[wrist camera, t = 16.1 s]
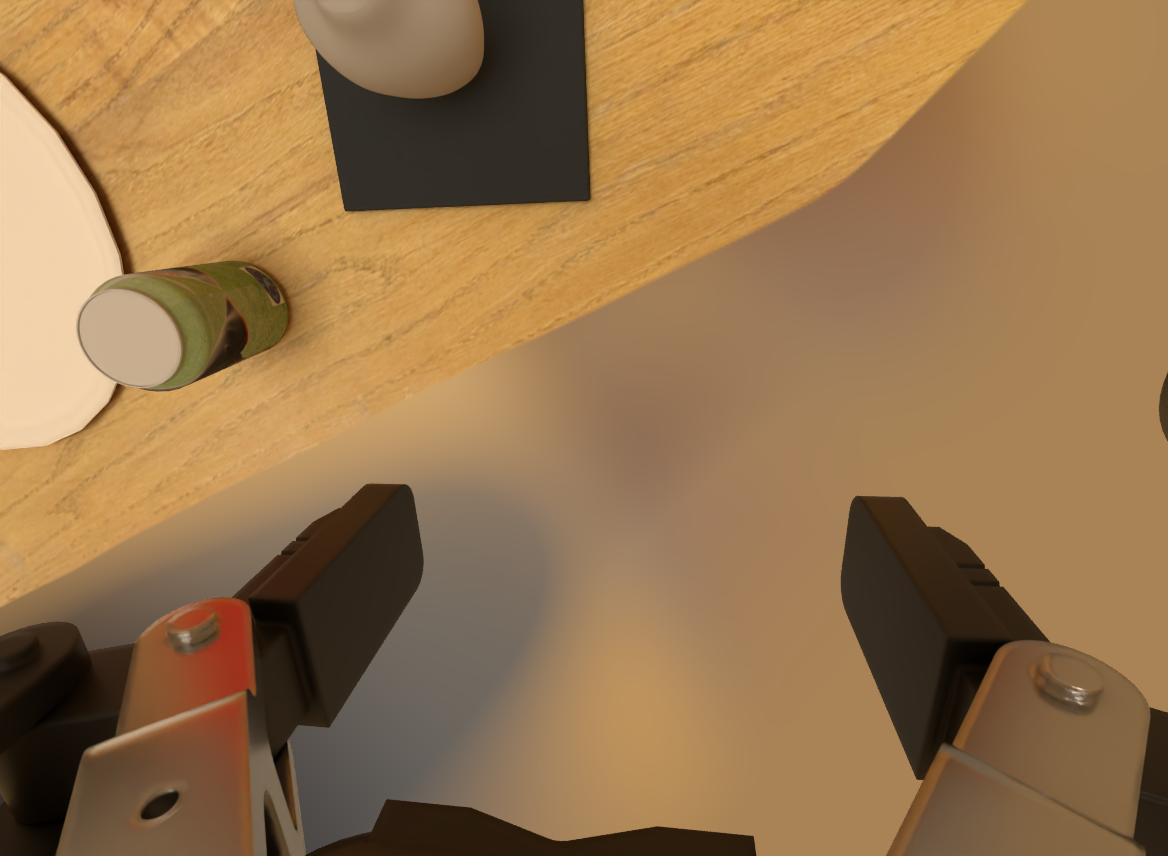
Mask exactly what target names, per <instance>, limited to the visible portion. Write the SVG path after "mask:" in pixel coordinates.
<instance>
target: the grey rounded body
mask: <svg viewBox="0 0 1168 856" xmlns="http://www.w3.org/2000/svg"><path fill="white" fill-rule="evenodd" d="M294 6H295V11H296V15H297V17H298V20H299V22H300V25H301V27H302V29H303V30H304V32H305V34H306V36H307V37H308V39H309V40H310V42H311V43H312V45H313V46H314V47H315V48H316V50H317V51H318V52H319V53H320V55H321V56H322V57H323V58H324V59H325V60H326V61H327V62H328V63H329V64H330V65H331V66H332V67H333V68H334V69H336V70H337V71H338V72H339V73H341V74H342V75H343V76H345V77H346V78H347V79H349V80H350V81H352V82H354V83H355V84H357V85H359V86H361V87H363V88H365V89H368V90H370V91H373V92H377V93H381V94H385V95H390V96H396V97H403V98H416V99H420V98H433V97H438V96H443V95H446V94H449V93H452V92H454V91H456V90H458V89H460V88H461V87H463V86H464V85H466V84H467V83H468V82H470V81H471V80H472V79H473V78H474V76H475V75H477V73H478V71H479V69H480V67H481V64H482V60H483V55H484V29H483V21H482V16H481V11H480V7H479V3H478V0H294Z"/></svg>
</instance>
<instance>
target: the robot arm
mask: <svg viewBox="0 0 1168 856" xmlns="http://www.w3.org/2000/svg"><path fill="white" fill-rule="evenodd" d="M423 562H424V560H423V551H422V544H421V538H420V532H419V526H418V520H417V514H416V508H415V502H414V496H413V493H412V491H411V488H410V487H409V486H408V485H405V484H366V485H365V486H363V488H361V489H360V490H359V491H358V492H357V493H356V494H355V495H354V496H353V497H352V498H351V499H350V500H349V501H348V502H347V503H346V504H345V505H344V506H343V507H342V508H338V509H336V510H334V511H332V512H331V513H329V514H327V515H325V516H323V517H322V518H319V519H318V520H316V521H314V522H313V523H312V524H311V525H310V526H308V527H307V528H306V529H305V530H304V531H303V532H302V533H301V534H300V535H299V536H298V537H297V538H296V541H292V542H291V543H290V544H289V545H288V546H287V547H286V548H285V549H284V550H283V551H282V554H281V555H277V556H276V557H275V558H274V559H273V560H272V561H271V562H270V563H269V564H267V565H266V566H265V567H264V568H263V569H262V570H261V571H260V572H259V573H258V574H257V575H256V576H254V577H253V578H252V579H251V580H250V581H249V582H248V583H247V584H246V585H245V586H244V587H243V588H241V590H239V591H238V592H237V593H236V594H235V595H234V596H233V597H232V598H227V597H221V598H212V599H206V600H202V601H198V602H195V603H192V604H189V605H186V606H183V607H181V608H179V609H176V610H174V611H173V612H171V613H168V614H167V615H165V616H163V617H162V618H160V619H158V620H157V621H156V622H154V623H153V624H151V625H150V626H149V627H148V628H147V629H146V630H145V631H144V632H143V633H142V634H141V635H140V636H139V638H138V639H137V641H136V642H135V643H134V644H128V645H122V646H116V647H110V648H104V649H98V650H92V651H87V648H86V646H85V644H84V641H83V639H82V637H81V635H80V633H79V630H78V628H77V627H76V626H75V625H73V624H71V623H66V622H48V623H41V624H37V625H32V626H28V627H25V628H22V629H18V630H16V631H13V632H10V633H7V634H5V635H3V636H0V793H1V795H2V797H3V799H4V800H5V802H4V803H3V804H2V805H1V806H0V856H756V851H755V843H754V837H753V836H746V835H737V834H727V833H718V832H708V831H697V830H688V829H678V828H668V827H658V826H657V827H651V828H645V829H639V830H632V831H626V832H620V833H614V834H607V835H601V836H595V837H589V838H583V839H576V840H570V841H555V840H551V839H548V838H545V837H543V836H540V835H538V834H536V833H533V832H531V831H528V830H526V829H523V828H521V827H518V826H516V825H513V824H510V823H508V822H506V821H503V820H501V819H498V818H495V817H493V816H490V815H488V814H485V813H483V812H480V811H478V810H475V809H473V808H468V807H459V806H449V805H438V804H429V803H418V802H409V801H399V800H389V799H387V800H386V802H385V804H384V806H383V808H382V810H381V813H380V815H379V817H378V819H377V821H376V823H375V825H374V828H373V830H372V832H368V833H362V834H359V835H355V836H352V837H348V838H345V839H342V840H339V841H336V842H334V843H332V844H329V845H326V846H324V847H321V848H319V849H317V850H315V851H313V852H311V853H309V854H307V855H306V852H305V844H304V837H303V830H302V823H301V822H302V821H301V813H300V806H299V798H298V790H297V782H296V775H295V766H294V759H293V752H292V748H291V745H290V742H289V737H290V736H291V734H292V733H293V731H294V730H295V728H296V727H297V726H298V725H305V726H316V727H328V728H329V727H330V725H331V724H332V722H333V721H334V719H335V718H336V716H337V714H338V713H339V711H340V710H341V708H342V707H343V705H344V703H345V702H346V700H347V699H348V697H349V696H350V694H351V692H352V691H353V689H354V687H355V686H356V685H357V683H358V681H359V680H360V678H361V677H362V675H363V673H364V672H365V670H366V669H367V667H368V666H369V664H370V662H371V661H372V659H373V658H374V656H375V654H376V653H377V651H378V650H379V648H380V647H381V645H382V644H383V642H384V640H385V639H386V637H387V635H388V634H389V632H390V631H391V629H392V628H393V626H394V625H395V623H396V621H397V620H398V618H399V617H400V615H401V614H402V612H403V610H404V609H405V607H406V606H407V604H408V603H409V601H410V599H411V598H412V596H413V595H414V593H415V592H416V590H417V588H418V586H419V584H420V581H421V577H422V573H423ZM841 593H842V600H843V605H844V608H845V611H846V614H847V616H848V618H849V620H850V623H851V625H852V628H853V630H854V632H855V635H856V637H857V640H858V642H859V644H860V647H861V649H862V651H863V654H864V656H865V658H866V661H867V663H868V666H869V668H870V670H871V673H872V675H873V677H874V679H875V682H876V684H877V687H878V689H879V691H880V694H881V696H882V699H883V701H884V703H885V706H886V708H887V710H888V713H889V715H890V717H891V720H892V722H893V725H894V727H895V729H896V732H897V734H898V736H899V739H900V741H901V743H902V746H903V748H904V751H905V753H906V755H907V758H908V760H909V763H910V765H911V767H912V770H913V772H914V774H915V777H916V779H918V780H923V782H922V784H921V786H920V788H919V790H918V792H917V794H916V796H915V799H914V801H913V803H912V804H911V807H910V809H909V811H908V813H907V815H906V817H905V819H904V821H903V823H902V825H901V827H900V829H899V831H898V833H897V835H896V837H895V839H894V841H893V843H892V845H891V847H890V849H889V851H888V853H887V855H886V856H1168V713H1167V712H1163V711H1160V710H1157V709H1154V708H1150V707H1149V706H1148V703H1147V701H1146V699H1145V698H1144V696H1143V694H1142V693H1141V692H1140V691H1139V690H1138V689H1137V687H1136V686H1135V685H1134V684H1133V683H1132V682H1130V681H1129V680H1128V679H1127V678H1126V677H1125V676H1123V675H1122V674H1121V673H1119V672H1118V671H1117V670H1115V669H1113V668H1112V667H1110V666H1109V665H1107V664H1105V663H1104V662H1102V661H1100V660H1098V659H1096V658H1094V657H1092V656H1090V655H1087V654H1085V653H1083V652H1080V651H1078V650H1075V649H1072V648H1069V647H1066V646H1062V645H1059V644H1055V643H1051V642H1050V641H1049V640H1048V639H1047V638H1046V637H1045V635H1044V634H1043V633H1042V632H1041V631H1040V630H1039V628H1038V627H1037V626H1036V625H1035V624H1034V623H1033V621H1032V620H1031V619H1030V618H1029V617H1028V615H1027V614H1026V613H1025V612H1024V611H1023V610H1022V608H1021V607H1020V606H1019V605H1018V604H1017V602H1016V601H1015V600H1014V599H1013V598H1012V597H1011V595H1010V594H1009V593H1008V592H1007V591H1006V590H1005V588H1004V587H1000V585H999V581H998V580H997V579H996V578H995V576H994V575H993V574H992V573H991V572H990V571H989V570H988V569H985V565H984V564H983V562H982V561H981V560H980V559H979V558H978V556H976V554H975V553H974V552H973V551H972V549H971V548H970V547H969V546H968V545H967V544H966V543H964V542H962V541H961V540H959V539H958V538H956V537H954V536H953V535H951V534H950V533H948V532H946V531H945V530H943V529H941V528H940V527H927V526H926V524H925V523H924V522H923V521H922V520H921V518H920V517H919V515H918V514H917V513H916V512H915V510H914V509H913V508H912V506H911V505H910V504H909V502H908V501H907V500H906V499H905V498H903V497H875V496H856V497H855V498H854V499H853V501H852V503H851V507H850V512H849V519H848V527H847V534H846V542H845V549H844V556H843V564H842V571H841Z"/></svg>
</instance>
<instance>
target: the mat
mask: <svg viewBox="0 0 1168 856" xmlns="http://www.w3.org/2000/svg"><path fill="white" fill-rule="evenodd" d="M478 3H479V7H480V11H481V16H482V21H483V29H484V55H483V60H482V64H481V67H480V69H479V71H478V73H477V75H475V76H474V78H473V79H472V80H471V81H470V82H468V83H467V84H466V85H464V86H463V87H461V88H460V89H458V90H456V91H454V92H452V93H449V94H446V95H443V96H438V97H433V98H420V99H416V98H403V97H396V96H390V95H385V94H381V93H377V92H373V91H370V90H368V89H365V88H363V87H361V86H359V85H357V84H355V83H354V82H352V81H350V80H349V79H347V78H346V77H345V76H343V75H342V74H341V73H339V72H338V71H337V70H336V69H334V68H333V67H332V66H331V65H330V64H329V63H328V62H327V61H326V60H325V59H324V58H323V57H322V56H321V55H320V53H319V52H318V51H317V50H316V54H317V60H318V65H319V71H320V76H321V82H322V87H323V93H324V99H325V104H326V110H327V115H328V121H329V126H330V132H331V137H332V143H333V149H334V154H335V160H336V165H337V171H338V176H339V182H340V187H341V193H342V199H343V204H344V210H345V211H365V210H387V209H410V208H432V207H454V206H477V205H499V204H522V203H544V202H566V201H588V200H590V175H589V147H588V120H587V93H586V65H585V38H584V11H583V0H478Z"/></svg>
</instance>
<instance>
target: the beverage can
mask: <svg viewBox="0 0 1168 856" xmlns="http://www.w3.org/2000/svg"><path fill="white" fill-rule="evenodd" d="M287 322H288V309H287V303H286V301H285V298H284V295H283V293H282V292H281V290H280V288H279V287H278V285H277V284H276V283H275V281H274V280H273V279H272V278H271V277H270V276H269V275H268V274H266V273H265V272H263V271H262V270H260V269H259V268H257V267H255V266H253V265H250V264H247V263H244V262H238V261H225V262H217V263H209V264H201V265H194V266H186V267H178V268H170V269H162V270H155V271H147V272H139V273H131V274H125V275H121V276H116V277H114V278H112V279H110V280H107V281H106V282H104V283H103V284H102V285H100V286H99V287H98V288H97V289H96V290H95V291H94V292H93V293H92V295H91V296H90V298H88V299H87V300H86V302H85V303H84V304H83V305H82V307H81V309H80V311H79V313H78V316H77V320H76V333H77V339H78V342H79V345H80V347H81V349H82V351H83V353H84V355H85V356H86V358H87V359H88V361H89V362H90V363H91V364H92V365H93V366H94V368H95V369H96V370H98V371H99V372H100V373H101V374H102V375H104V376H105V377H107V378H109V379H110V380H112V381H114V382H116V383H118V384H121V385H124V386H128V387H133V388H140V389H144V390H149V391H171V390H176V389H180V388H182V387H184V386H187V385H189V384H191V383H194V382H196V381H198V380H200V379H203V378H205V377H207V376H209V375H212V374H214V373H216V372H218V371H221V370H223V369H225V368H227V367H230V366H232V365H234V364H237V363H239V362H241V361H243V360H246V359H248V358H250V357H252V356H255V355H257V354H259V353H261V352H264V351H266V350H268V349H270V348H271V347H273V346H274V345H276V344H277V342H278V341H279V340H280V339H281V338H282V336H283V335H284V333H285V330H286V327H287Z"/></svg>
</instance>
